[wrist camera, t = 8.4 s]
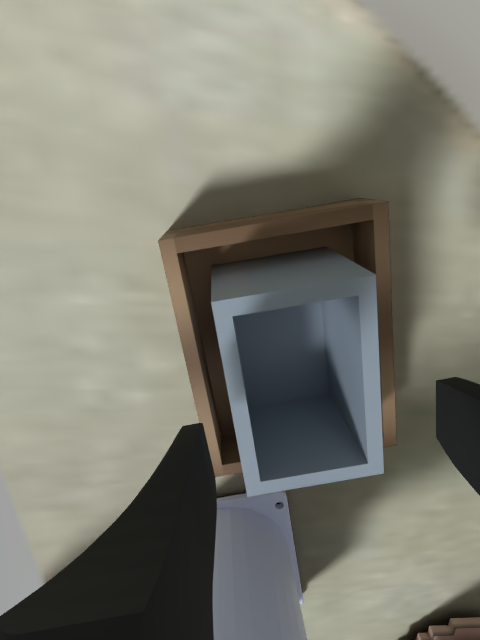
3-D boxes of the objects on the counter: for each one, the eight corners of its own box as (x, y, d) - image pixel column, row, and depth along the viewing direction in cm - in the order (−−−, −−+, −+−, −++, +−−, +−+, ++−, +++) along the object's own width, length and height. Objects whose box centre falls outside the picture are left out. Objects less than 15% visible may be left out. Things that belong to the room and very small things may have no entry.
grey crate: (338, 395, 21) (383, 473, 16) (238, 412, 21) (247, 496, 16) (326, 246, 19) (376, 274, 13) (211, 265, 19) (211, 301, 13)
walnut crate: (369, 406, 23) (396, 445, 19) (212, 433, 22) (211, 477, 19) (357, 197, 19) (388, 201, 15) (167, 230, 19) (158, 240, 15)
